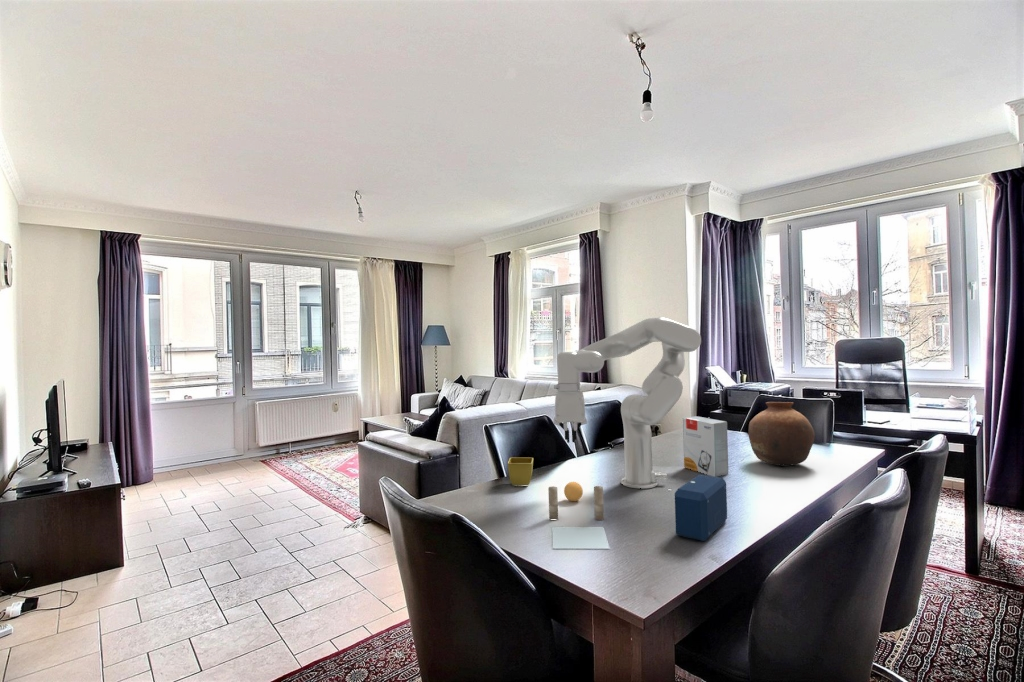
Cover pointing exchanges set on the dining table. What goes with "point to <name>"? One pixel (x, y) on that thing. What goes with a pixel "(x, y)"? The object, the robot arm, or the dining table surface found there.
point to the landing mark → (579, 538)
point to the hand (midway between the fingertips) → (570, 441)
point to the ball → (573, 491)
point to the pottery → (781, 435)
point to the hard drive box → (705, 445)
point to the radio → (700, 507)
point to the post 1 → (553, 502)
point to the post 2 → (598, 503)
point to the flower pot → (520, 470)
